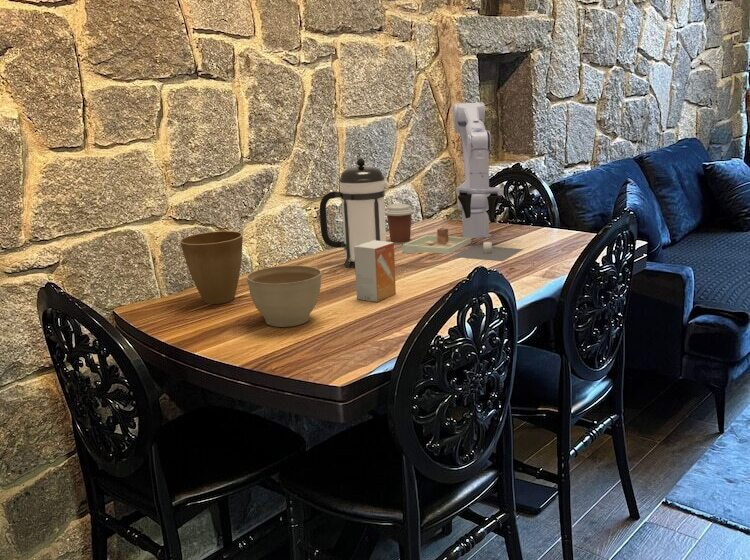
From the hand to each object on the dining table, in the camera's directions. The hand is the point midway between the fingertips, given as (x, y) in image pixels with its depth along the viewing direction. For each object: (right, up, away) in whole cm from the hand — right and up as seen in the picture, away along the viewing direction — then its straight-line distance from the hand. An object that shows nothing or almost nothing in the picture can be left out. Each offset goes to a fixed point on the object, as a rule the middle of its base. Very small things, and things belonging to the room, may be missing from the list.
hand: (479, 218), depth 216 cm
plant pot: (-70, -24, -38) cm, 83 cm away
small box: (-31, -23, -42) cm, 57 cm away
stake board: (+1, -12, -7) cm, 14 cm away
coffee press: (-35, -14, -8) cm, 39 cm away
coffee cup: (-23, -7, +17) cm, 30 cm away
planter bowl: (-51, -28, -57) cm, 81 cm away
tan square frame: (-12, -8, +5) cm, 16 cm away
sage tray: (-12, -9, +5) cm, 16 cm away
